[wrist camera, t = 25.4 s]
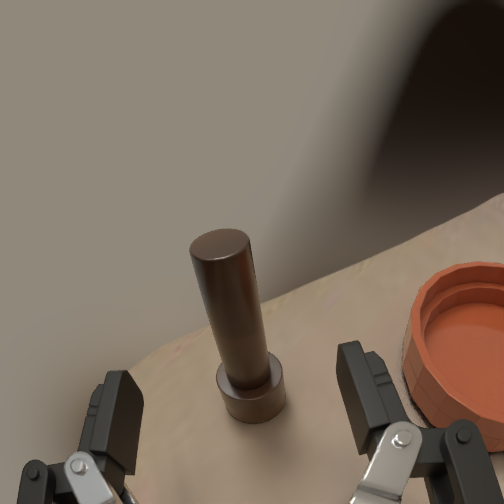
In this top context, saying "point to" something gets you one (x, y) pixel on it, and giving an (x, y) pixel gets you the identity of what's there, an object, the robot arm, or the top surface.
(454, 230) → the top surface
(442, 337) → the bowl
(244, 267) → the muddler
